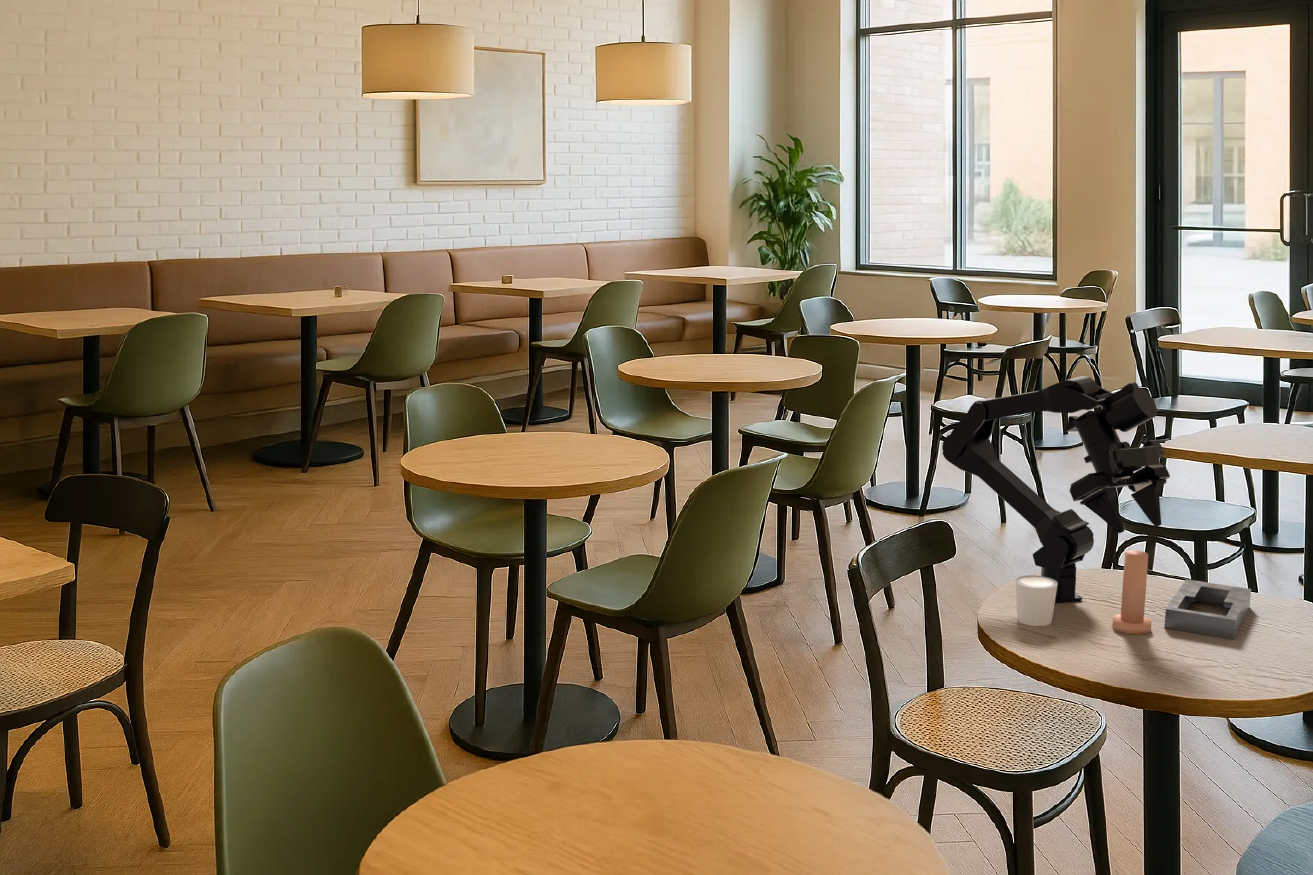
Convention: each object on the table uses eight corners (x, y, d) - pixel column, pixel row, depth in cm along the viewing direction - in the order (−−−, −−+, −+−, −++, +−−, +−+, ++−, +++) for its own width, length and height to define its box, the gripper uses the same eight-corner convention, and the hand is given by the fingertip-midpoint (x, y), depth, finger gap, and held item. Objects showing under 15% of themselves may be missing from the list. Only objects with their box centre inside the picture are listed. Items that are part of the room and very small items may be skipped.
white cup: (1050, 613, 212) (1053, 574, 211) (1059, 627, 205) (1061, 587, 204) (1010, 612, 213) (1011, 574, 211) (1017, 626, 206) (1019, 587, 205)
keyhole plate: (1233, 639, 199) (1235, 620, 199) (1164, 627, 205) (1165, 608, 204) (1249, 607, 214) (1251, 589, 213) (1184, 596, 220) (1185, 579, 219)
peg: (1105, 623, 207) (1109, 549, 204) (1136, 620, 208) (1142, 547, 206) (1125, 636, 201) (1130, 560, 199) (1158, 633, 203) (1164, 557, 200)
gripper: (1099, 427, 198) (1138, 516, 193) (1174, 419, 208) (1214, 504, 203) (1052, 456, 207) (1088, 542, 202) (1126, 447, 217) (1163, 529, 211)
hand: (1140, 529), depth 204 cm, fingers open, 9 cm apart
